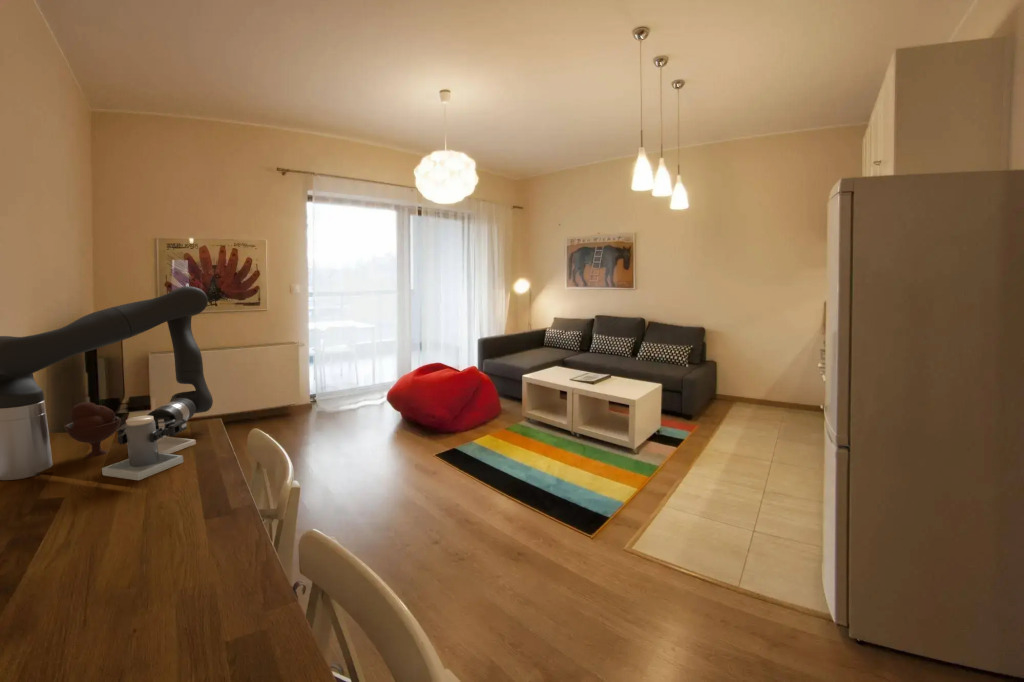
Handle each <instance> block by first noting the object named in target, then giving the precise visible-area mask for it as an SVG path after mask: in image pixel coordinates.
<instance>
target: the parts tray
mask: <svg viewBox="0 0 1024 682" xmlns="http://www.w3.org/2000/svg"><path fill="white" fill-rule="evenodd" d="M196 441H197V440H196V439H191V438H182V437H173V436H166V437H163V438H160V439H158V440H157V445H158V453H165V454H173V453H176V452H178V451H181V450H184V449H187V448H190V447H192V446H194V445H196V444H197V442H196Z"/></svg>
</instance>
